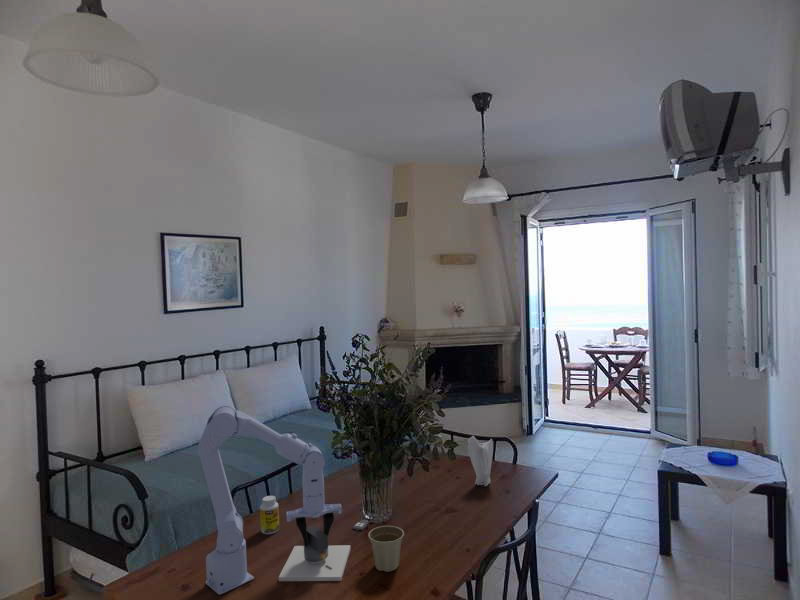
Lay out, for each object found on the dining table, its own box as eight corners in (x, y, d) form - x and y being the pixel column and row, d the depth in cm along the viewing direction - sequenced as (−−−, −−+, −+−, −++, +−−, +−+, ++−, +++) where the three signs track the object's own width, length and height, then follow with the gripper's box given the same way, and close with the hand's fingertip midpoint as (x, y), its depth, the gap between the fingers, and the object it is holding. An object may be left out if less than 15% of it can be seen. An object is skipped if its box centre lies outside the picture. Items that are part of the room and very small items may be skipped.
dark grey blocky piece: (298, 554, 139) (297, 530, 139) (319, 546, 143) (318, 523, 143) (313, 566, 132) (312, 541, 132) (335, 557, 136) (334, 533, 136)
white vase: (497, 482, 190) (495, 434, 190) (488, 490, 183) (487, 440, 183) (476, 478, 195) (475, 431, 195) (467, 486, 188) (466, 437, 188)
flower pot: (385, 553, 142) (384, 522, 142) (412, 563, 136) (411, 531, 136) (362, 568, 135) (360, 535, 135) (389, 579, 129) (388, 545, 129)
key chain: (362, 532, 156) (362, 528, 156) (352, 530, 157) (351, 526, 157) (380, 515, 168) (380, 510, 168) (370, 513, 169) (370, 508, 169)
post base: (341, 580, 129) (340, 572, 129) (278, 581, 130) (278, 573, 130) (350, 548, 145) (350, 541, 145) (294, 549, 146) (294, 542, 146)
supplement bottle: (264, 537, 154) (262, 503, 154) (258, 530, 159) (257, 497, 159) (282, 531, 157) (280, 498, 157) (275, 525, 162) (274, 493, 162)
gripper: (286, 502, 131) (289, 554, 132) (342, 494, 135) (344, 545, 136) (285, 492, 138) (287, 542, 138) (338, 484, 142) (340, 533, 142)
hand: (315, 543), depth 138 cm, fingers closed on dark grey blocky piece, 5 cm apart
